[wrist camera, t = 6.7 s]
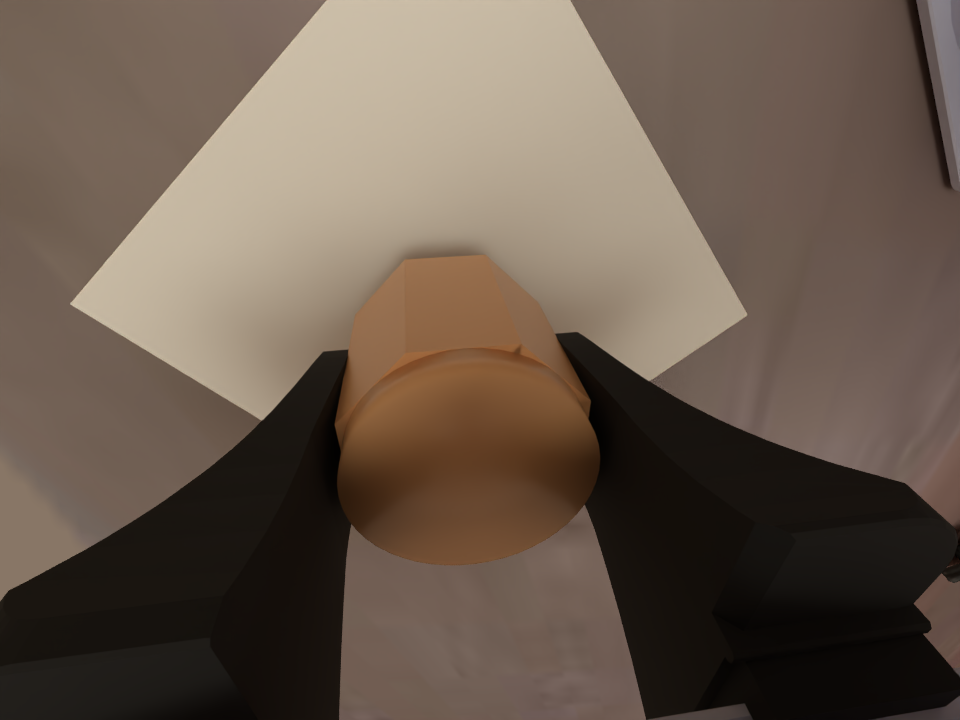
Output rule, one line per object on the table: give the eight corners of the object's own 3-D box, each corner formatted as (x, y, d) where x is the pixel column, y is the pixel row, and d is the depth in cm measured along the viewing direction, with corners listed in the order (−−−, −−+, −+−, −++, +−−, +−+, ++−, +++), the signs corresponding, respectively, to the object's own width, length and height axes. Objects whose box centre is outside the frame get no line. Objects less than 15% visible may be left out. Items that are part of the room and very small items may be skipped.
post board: (730, 301, 17) (832, 384, 13) (433, 505, 20) (440, 617, 17) (466, -155, 10) (511, -286, 6) (90, 287, 13) (-40, 392, 10)
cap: (540, 251, 12) (617, 362, 7) (531, 402, 14) (586, 549, 10) (346, 262, 11) (311, 389, 7) (372, 417, 14) (358, 578, 9)
